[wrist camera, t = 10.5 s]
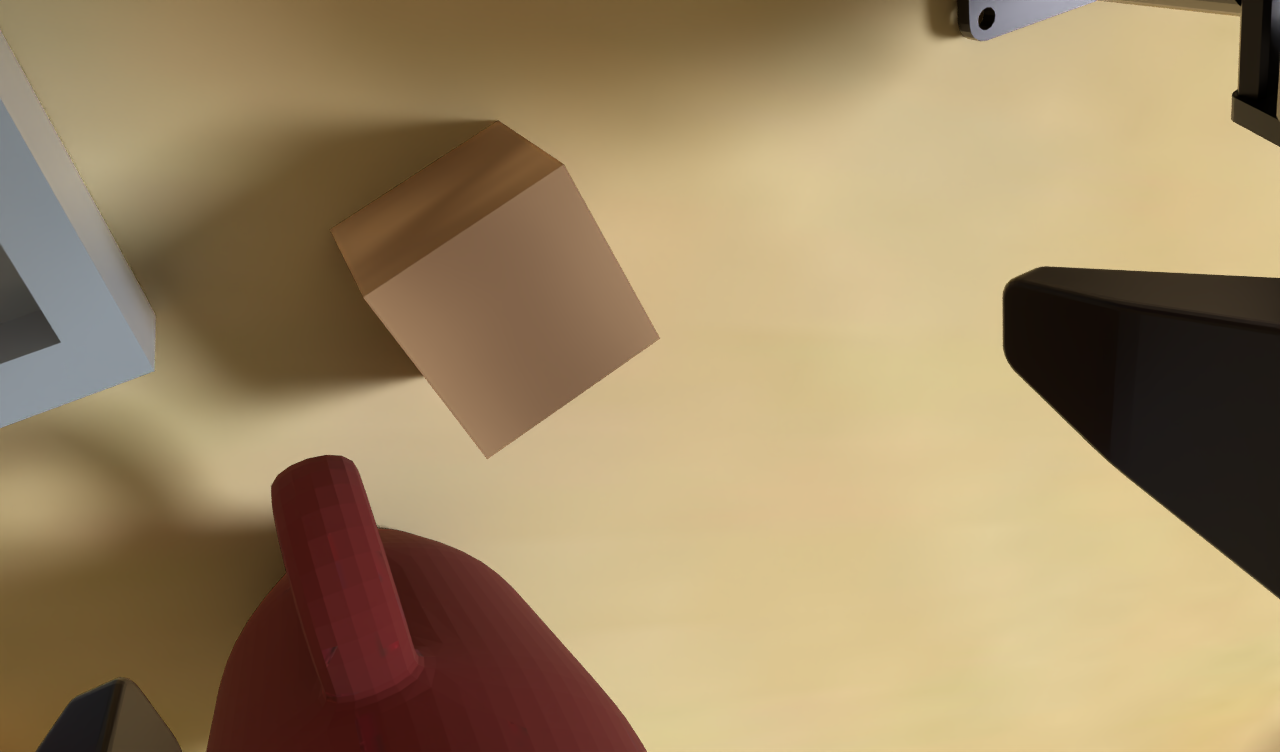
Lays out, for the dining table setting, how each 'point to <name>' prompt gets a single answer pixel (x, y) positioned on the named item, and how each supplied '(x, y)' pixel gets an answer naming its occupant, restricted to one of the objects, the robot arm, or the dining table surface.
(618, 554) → the dining table surface
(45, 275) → the dish
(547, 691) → the mug
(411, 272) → the walnut block
